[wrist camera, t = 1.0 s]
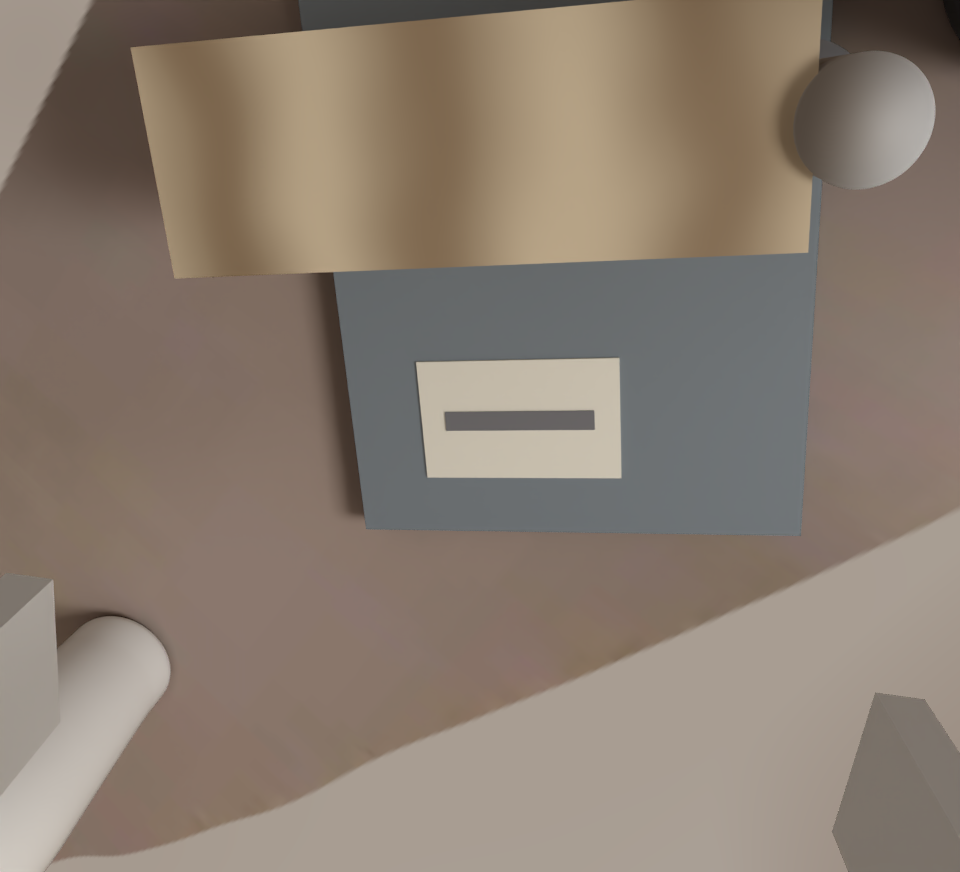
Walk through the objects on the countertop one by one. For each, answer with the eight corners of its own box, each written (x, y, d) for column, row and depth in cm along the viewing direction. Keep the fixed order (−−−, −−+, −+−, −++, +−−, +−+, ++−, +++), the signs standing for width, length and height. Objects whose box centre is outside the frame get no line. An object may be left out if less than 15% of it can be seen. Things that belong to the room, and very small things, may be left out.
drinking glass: (203, 711, 46) (13, 978, 32) (86, 711, 47) (-144, 966, 34) (170, 596, 44) (-50, 830, 30) (48, 599, 45) (-215, 824, 31)
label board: (871, -94, 29) (886, -106, 27) (826, 522, 37) (836, 545, 35) (305, -33, 32) (285, -40, 31) (373, 517, 40) (360, 537, 38)
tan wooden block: (856, 5, 28) (949, -31, 19) (843, 203, 30) (921, 250, 21) (266, 57, 32) (121, 46, 23) (291, 231, 34) (167, 281, 25)
